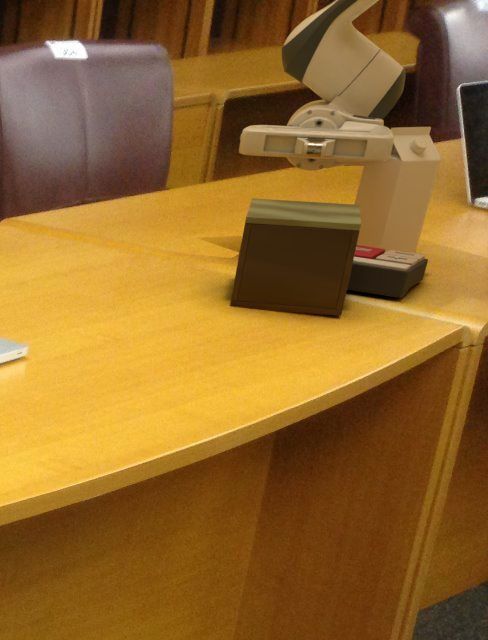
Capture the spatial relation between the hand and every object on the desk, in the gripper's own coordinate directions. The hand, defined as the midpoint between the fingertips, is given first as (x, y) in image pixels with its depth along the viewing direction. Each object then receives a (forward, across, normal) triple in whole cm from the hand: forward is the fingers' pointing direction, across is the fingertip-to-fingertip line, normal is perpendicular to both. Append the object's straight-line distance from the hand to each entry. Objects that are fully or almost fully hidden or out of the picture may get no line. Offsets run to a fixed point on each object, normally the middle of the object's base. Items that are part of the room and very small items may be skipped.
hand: (314, 150), depth 216 cm
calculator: (+5, +11, +17) cm, 21 cm away
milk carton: (-16, +12, +17) cm, 26 cm away
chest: (+21, 0, +17) cm, 27 cm away
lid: (+19, 0, +6) cm, 20 cm away
